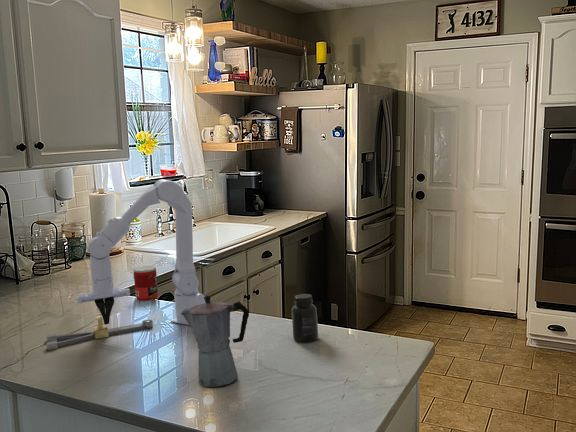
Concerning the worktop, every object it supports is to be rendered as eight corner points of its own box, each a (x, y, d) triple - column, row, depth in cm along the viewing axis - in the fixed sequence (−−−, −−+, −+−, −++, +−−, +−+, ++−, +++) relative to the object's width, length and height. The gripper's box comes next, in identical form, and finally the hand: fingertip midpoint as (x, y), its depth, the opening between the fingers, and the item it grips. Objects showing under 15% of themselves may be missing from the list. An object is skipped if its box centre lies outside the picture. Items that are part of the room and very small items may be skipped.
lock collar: (106, 331, 170) (104, 314, 169) (108, 336, 165) (106, 318, 164) (93, 333, 168) (92, 316, 168) (95, 338, 163) (93, 321, 163)
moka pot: (188, 374, 135) (181, 292, 133) (252, 368, 136) (247, 287, 134) (184, 391, 126) (176, 304, 123) (253, 385, 127) (248, 298, 124)
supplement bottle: (321, 335, 157) (319, 293, 155) (314, 344, 150) (312, 300, 149) (297, 333, 159) (295, 292, 157) (289, 342, 153) (287, 299, 151)
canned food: (153, 301, 201) (150, 270, 199) (132, 301, 202) (129, 270, 201) (162, 295, 208) (159, 265, 207) (141, 295, 210) (139, 265, 208)
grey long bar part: (150, 322, 177) (149, 316, 176) (155, 330, 168) (155, 324, 168) (47, 340, 165) (46, 333, 165) (47, 350, 157) (46, 343, 157)
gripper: (125, 271, 172) (130, 315, 173) (74, 278, 166) (79, 323, 168) (129, 276, 165) (133, 321, 167) (76, 284, 159) (81, 330, 161)
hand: (106, 323), depth 167 cm, fingers closed
